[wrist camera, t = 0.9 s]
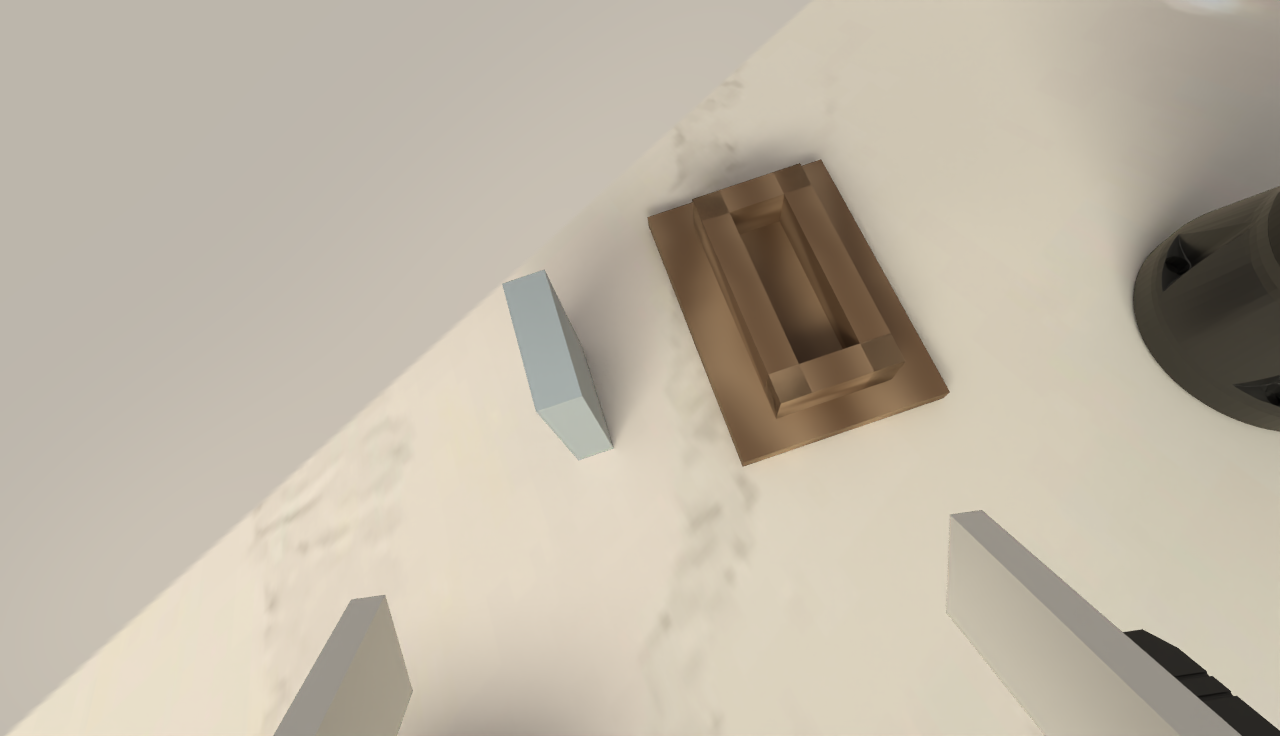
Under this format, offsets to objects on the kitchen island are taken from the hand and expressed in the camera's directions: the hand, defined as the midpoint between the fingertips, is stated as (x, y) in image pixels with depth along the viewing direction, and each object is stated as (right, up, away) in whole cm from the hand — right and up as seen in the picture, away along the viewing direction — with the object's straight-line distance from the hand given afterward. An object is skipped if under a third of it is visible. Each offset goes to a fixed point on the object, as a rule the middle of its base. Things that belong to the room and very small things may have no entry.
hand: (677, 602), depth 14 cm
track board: (+10, +10, +30) cm, 33 cm away
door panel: (-5, +3, +29) cm, 30 cm away
